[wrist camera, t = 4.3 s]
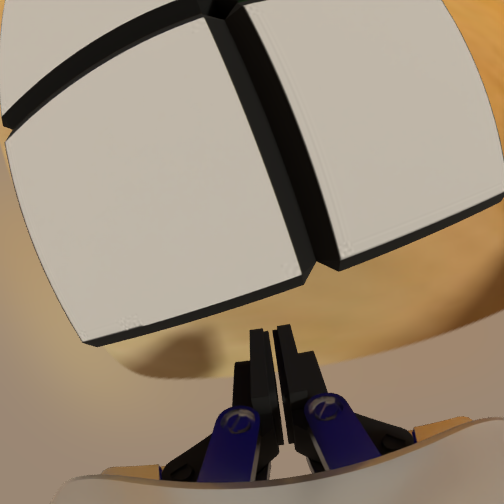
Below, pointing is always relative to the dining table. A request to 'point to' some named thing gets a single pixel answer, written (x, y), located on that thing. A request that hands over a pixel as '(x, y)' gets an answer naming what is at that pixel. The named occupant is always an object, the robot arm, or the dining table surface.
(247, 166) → the puzzle cube
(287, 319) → the dining table surface
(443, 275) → the dining table surface
